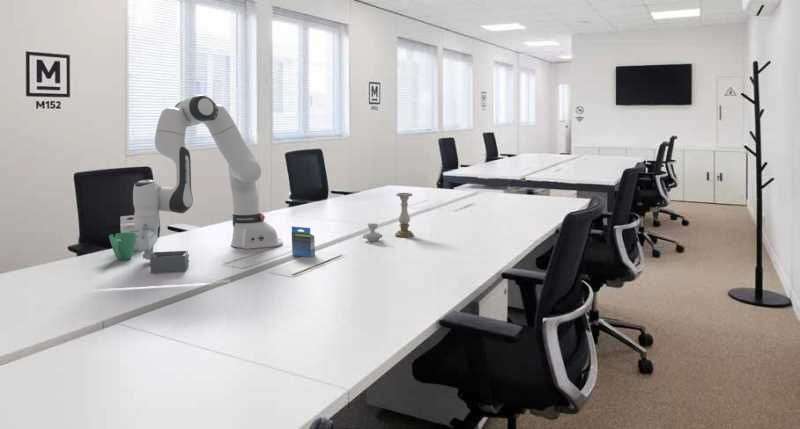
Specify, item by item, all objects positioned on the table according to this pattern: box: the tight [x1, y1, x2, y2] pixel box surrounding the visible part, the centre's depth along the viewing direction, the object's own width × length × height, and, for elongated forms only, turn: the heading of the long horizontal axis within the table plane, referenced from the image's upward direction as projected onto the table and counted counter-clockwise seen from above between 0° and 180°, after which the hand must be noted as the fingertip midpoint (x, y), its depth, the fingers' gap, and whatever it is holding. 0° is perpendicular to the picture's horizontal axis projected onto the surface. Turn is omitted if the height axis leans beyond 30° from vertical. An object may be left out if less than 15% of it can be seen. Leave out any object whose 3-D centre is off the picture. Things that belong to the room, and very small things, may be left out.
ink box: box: [119, 214, 139, 252], centre depth 266 cm, size 8×5×15 cm, turn 123°
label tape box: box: [291, 226, 316, 258], centre depth 256 cm, size 9×4×12 cm, turn 71°
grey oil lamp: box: [362, 222, 383, 243], centre depth 285 cm, size 9×7×8 cm
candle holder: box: [394, 192, 414, 238], centre depth 297 cm, size 9×9×20 cm
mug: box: [108, 232, 136, 262], centre depth 247 cm, size 15×10×10 cm
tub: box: [149, 250, 189, 274], centre depth 230 cm, size 12×9×7 cm
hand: (149, 258), depth 240 cm, fingers closed on lid, 3 cm apart
